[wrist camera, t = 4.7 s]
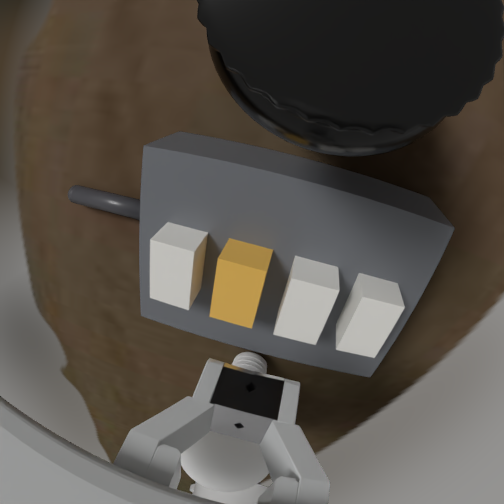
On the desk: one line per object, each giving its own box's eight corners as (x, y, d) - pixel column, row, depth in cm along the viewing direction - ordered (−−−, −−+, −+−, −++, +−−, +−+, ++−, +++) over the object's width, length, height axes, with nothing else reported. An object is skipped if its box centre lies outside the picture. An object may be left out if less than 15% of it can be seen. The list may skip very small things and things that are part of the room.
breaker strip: (429, 197, 15) (469, 247, 10) (366, 332, 20) (371, 401, 16) (75, 118, 17) (8, 139, 12) (79, 250, 22) (32, 293, 17)
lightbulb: (309, 359, 23) (291, 499, 13) (257, 389, 26) (226, 507, 16) (246, 312, 22) (195, 459, 12) (199, 351, 25) (146, 471, 15)
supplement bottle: (425, 70, 12) (600, 70, 2) (331, 152, 15) (351, 294, 5) (325, -26, 11) (323, -187, 1) (233, 60, 14) (62, 31, 4)
